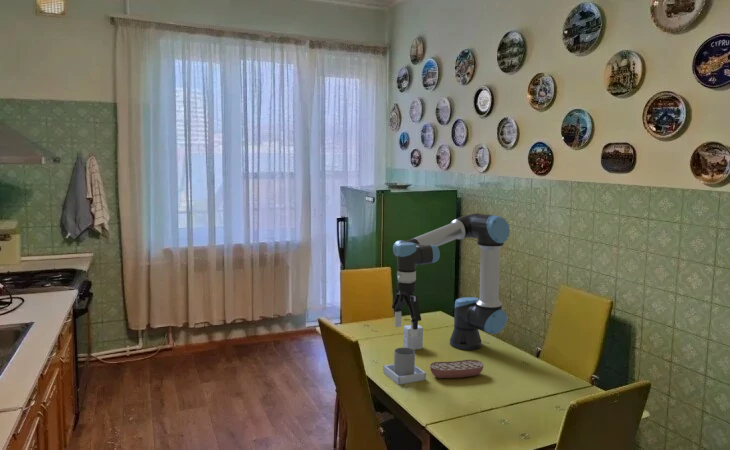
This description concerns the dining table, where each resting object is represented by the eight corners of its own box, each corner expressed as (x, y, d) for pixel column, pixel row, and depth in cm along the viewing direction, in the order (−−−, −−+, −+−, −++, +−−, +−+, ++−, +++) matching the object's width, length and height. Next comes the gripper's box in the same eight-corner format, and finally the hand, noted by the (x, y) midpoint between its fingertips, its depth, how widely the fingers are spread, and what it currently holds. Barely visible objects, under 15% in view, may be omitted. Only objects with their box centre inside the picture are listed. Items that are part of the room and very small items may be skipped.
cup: (412, 379, 222) (413, 355, 221) (392, 377, 224) (392, 353, 223) (415, 371, 230) (416, 348, 229) (396, 369, 232) (396, 346, 231)
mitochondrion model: (477, 370, 236) (477, 358, 235) (487, 379, 226) (488, 367, 225) (426, 373, 231) (427, 362, 230) (434, 383, 221) (435, 371, 220)
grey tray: (409, 367, 236) (409, 361, 236) (425, 379, 224) (425, 372, 223) (383, 372, 231) (383, 365, 230) (398, 384, 219) (398, 377, 218)
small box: (418, 345, 265) (418, 324, 263) (422, 349, 259) (423, 327, 258) (402, 346, 262) (403, 325, 261) (407, 350, 257) (407, 329, 256)
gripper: (384, 275, 232) (384, 323, 235) (413, 289, 209) (412, 342, 212) (400, 273, 235) (399, 321, 238) (430, 287, 212) (429, 339, 215)
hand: (405, 331), depth 225 cm, fingers open, 13 cm apart
